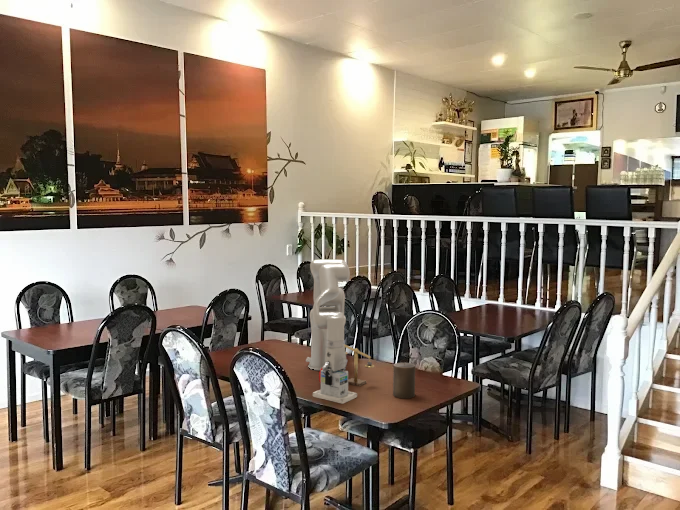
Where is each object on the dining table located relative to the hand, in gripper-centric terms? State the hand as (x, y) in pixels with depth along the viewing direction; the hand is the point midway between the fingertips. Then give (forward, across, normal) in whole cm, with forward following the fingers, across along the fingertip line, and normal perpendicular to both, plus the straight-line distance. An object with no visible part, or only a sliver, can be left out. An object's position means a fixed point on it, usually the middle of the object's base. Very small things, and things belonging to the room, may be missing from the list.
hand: (335, 382), depth 260 cm
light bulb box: (+6, 0, 0) cm, 6 cm away
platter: (+6, 0, 0) cm, 6 cm away
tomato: (+7, +12, +11) cm, 18 cm away
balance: (+6, +22, +4) cm, 24 cm away
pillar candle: (+7, +20, -23) cm, 32 cm away
